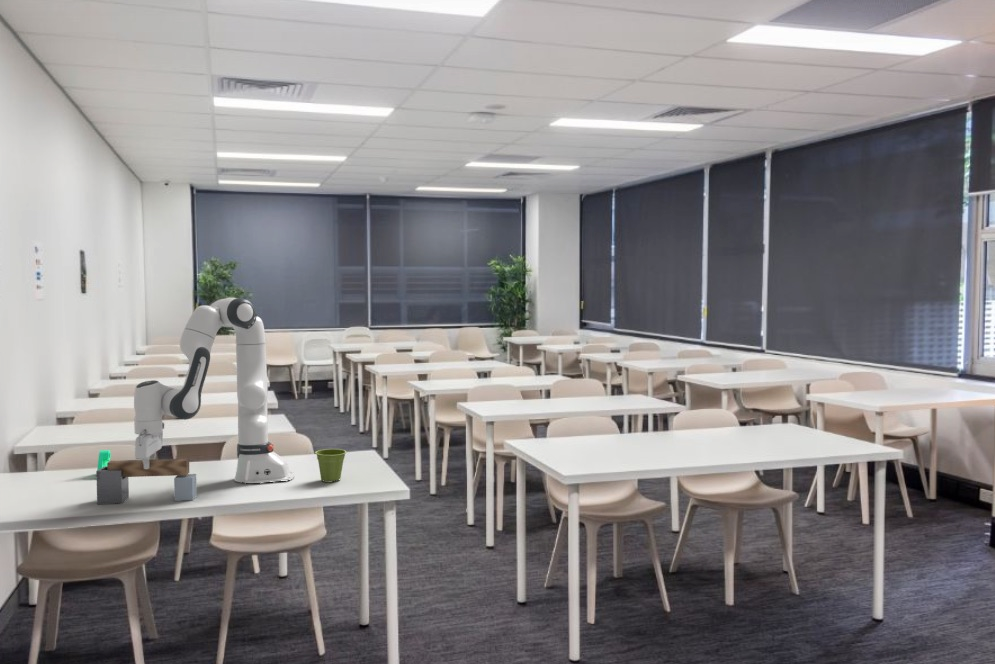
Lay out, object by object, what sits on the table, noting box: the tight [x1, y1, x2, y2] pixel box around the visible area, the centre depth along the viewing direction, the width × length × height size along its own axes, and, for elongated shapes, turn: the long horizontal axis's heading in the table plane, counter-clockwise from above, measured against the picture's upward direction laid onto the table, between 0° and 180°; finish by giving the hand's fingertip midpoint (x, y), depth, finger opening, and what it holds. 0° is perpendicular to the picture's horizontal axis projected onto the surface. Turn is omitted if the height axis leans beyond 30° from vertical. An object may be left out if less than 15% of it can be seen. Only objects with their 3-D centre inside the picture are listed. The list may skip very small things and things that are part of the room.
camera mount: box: [96, 449, 112, 471], centre depth 310 cm, size 12×8×10 cm, turn 14°
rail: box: [107, 458, 190, 478], centre depth 272 cm, size 26×4×5 cm, turn 99°
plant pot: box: [314, 448, 347, 482], centre depth 301 cm, size 12×12×11 cm
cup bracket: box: [95, 466, 130, 505], centre depth 270 cm, size 8×8×12 cm
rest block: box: [173, 473, 198, 502], centre depth 274 cm, size 6×6×8 cm
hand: (149, 467), depth 272 cm, fingers closed on rail, 4 cm apart
